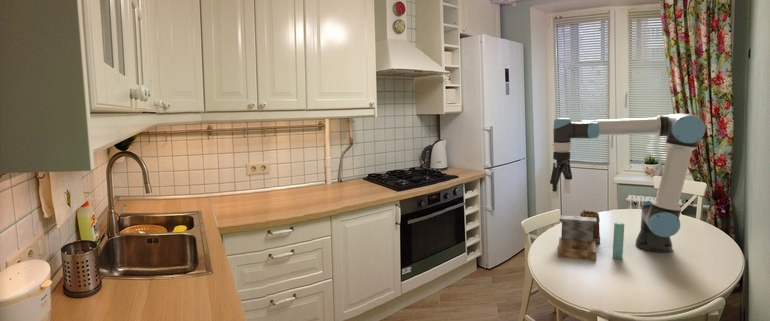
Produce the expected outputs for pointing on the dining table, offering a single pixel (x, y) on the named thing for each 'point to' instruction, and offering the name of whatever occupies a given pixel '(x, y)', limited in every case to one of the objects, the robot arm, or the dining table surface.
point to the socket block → (577, 238)
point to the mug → (596, 226)
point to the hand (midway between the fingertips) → (561, 195)
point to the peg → (618, 240)
